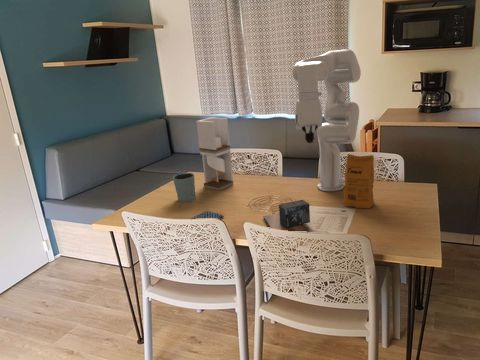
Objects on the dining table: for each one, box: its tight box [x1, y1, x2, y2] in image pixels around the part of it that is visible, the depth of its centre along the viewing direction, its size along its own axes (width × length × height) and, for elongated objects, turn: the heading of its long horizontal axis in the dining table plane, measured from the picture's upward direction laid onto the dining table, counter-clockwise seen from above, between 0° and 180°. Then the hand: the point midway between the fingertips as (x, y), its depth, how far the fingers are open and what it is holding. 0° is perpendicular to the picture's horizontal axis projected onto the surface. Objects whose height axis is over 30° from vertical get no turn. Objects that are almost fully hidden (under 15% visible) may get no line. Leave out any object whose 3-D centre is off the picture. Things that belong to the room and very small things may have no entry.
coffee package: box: [343, 153, 375, 209], centre depth 169 cm, size 10×12×22 cm
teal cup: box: [172, 172, 197, 203], centre depth 195 cm, size 10×10×12 cm
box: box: [278, 199, 311, 228], centre depth 155 cm, size 8×6×11 cm
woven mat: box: [191, 210, 225, 220], centre depth 170 cm, size 10×11×2 cm
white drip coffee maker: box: [196, 116, 234, 191], centre depth 207 cm, size 11×11×35 cm
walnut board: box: [263, 213, 309, 232], centre depth 158 cm, size 12×18×2 cm
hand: (309, 142), depth 163 cm, fingers closed
